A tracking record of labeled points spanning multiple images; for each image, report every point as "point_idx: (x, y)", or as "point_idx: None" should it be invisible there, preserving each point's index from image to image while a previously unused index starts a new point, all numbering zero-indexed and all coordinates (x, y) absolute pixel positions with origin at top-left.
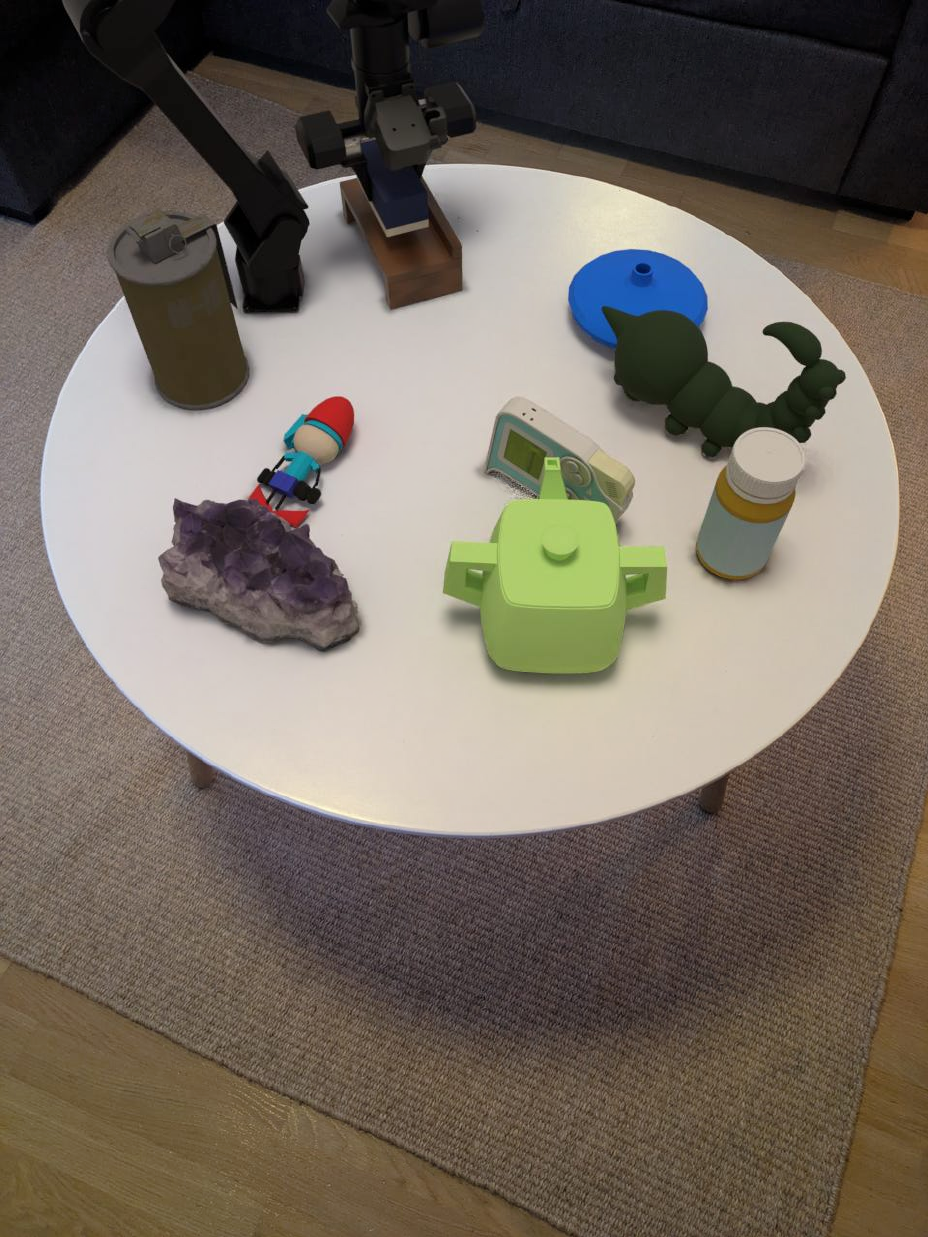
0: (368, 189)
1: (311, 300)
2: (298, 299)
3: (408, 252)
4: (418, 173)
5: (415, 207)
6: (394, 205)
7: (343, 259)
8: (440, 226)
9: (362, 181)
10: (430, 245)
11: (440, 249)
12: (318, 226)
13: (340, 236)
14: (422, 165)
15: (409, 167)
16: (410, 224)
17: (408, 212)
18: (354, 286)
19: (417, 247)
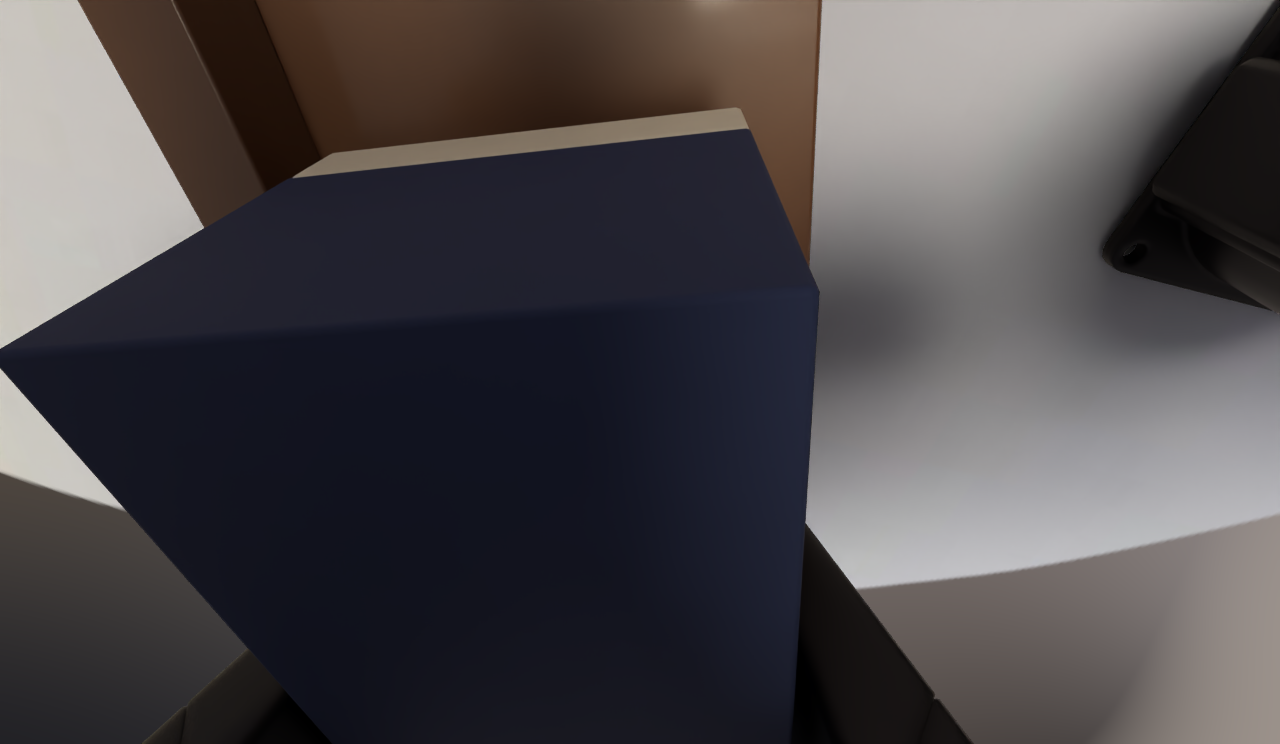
0: (813, 588)
1: (1168, 50)
2: (1271, 46)
3: (568, 45)
4: None
5: (330, 235)
6: (616, 247)
7: (863, 303)
8: (259, 180)
9: (911, 696)
10: (390, 84)
11: (306, 7)
12: (876, 483)
13: (819, 423)
14: (191, 726)
15: (350, 724)
16: (479, 155)
17: (446, 207)
18: (894, 103)
19: (491, 87)
